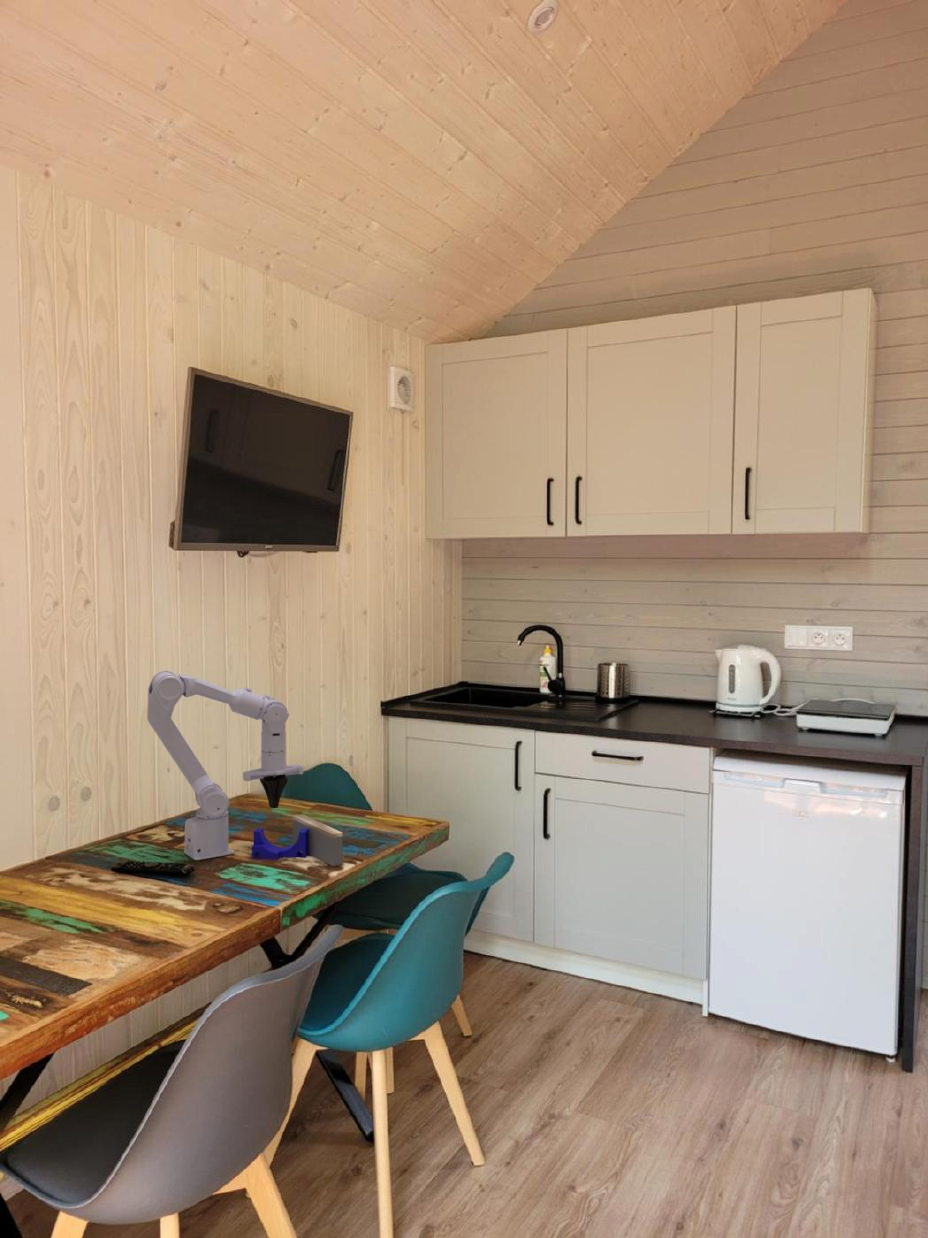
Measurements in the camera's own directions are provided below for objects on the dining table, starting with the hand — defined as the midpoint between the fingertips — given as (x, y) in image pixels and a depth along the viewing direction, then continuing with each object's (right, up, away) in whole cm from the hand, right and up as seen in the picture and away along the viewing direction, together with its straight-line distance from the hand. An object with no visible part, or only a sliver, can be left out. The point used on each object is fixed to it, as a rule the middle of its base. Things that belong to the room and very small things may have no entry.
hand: (273, 807), depth 223 cm
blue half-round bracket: (+3, -10, -7) cm, 13 cm away
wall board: (+11, -10, -6) cm, 16 cm away
